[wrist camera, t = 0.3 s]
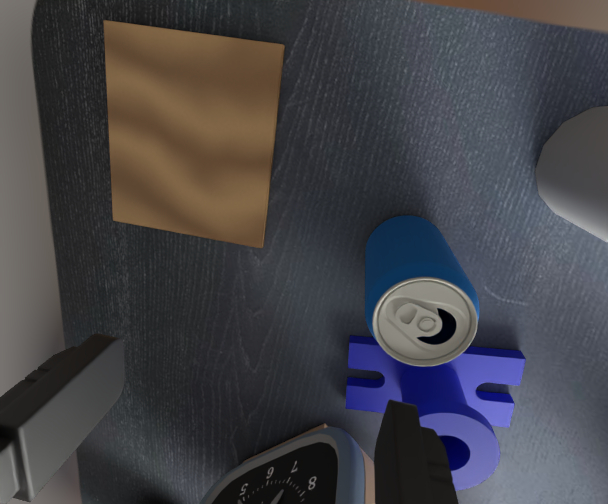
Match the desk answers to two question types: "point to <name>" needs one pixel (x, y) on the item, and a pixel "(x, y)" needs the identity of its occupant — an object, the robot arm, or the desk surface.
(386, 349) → the beverage can
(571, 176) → the cup
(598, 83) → the desk surface
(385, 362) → the mount
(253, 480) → the alarm clock
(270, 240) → the desk surface
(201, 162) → the cork mat
